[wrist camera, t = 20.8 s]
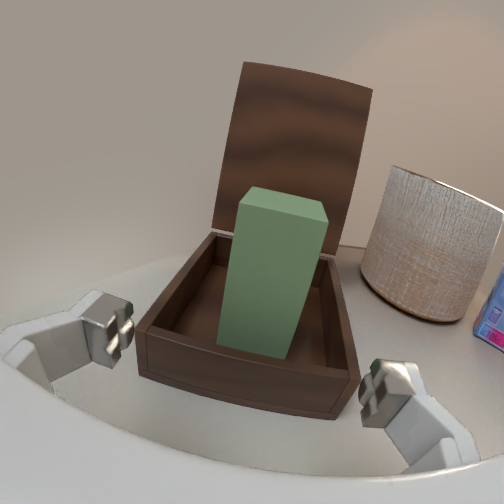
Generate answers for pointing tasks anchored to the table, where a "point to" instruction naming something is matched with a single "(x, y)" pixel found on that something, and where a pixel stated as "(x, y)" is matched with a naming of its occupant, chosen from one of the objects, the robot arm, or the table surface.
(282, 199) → the block
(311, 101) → the chest lid
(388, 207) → the planter
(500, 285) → the ink cartridge box
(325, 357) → the chest
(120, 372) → the table surface
